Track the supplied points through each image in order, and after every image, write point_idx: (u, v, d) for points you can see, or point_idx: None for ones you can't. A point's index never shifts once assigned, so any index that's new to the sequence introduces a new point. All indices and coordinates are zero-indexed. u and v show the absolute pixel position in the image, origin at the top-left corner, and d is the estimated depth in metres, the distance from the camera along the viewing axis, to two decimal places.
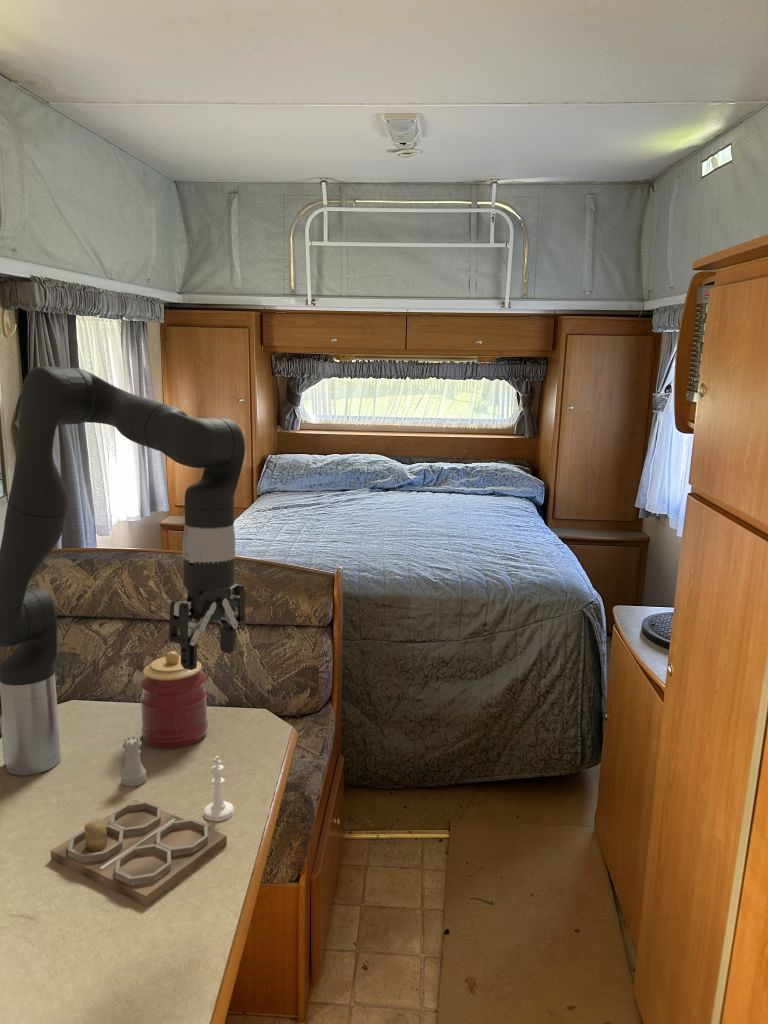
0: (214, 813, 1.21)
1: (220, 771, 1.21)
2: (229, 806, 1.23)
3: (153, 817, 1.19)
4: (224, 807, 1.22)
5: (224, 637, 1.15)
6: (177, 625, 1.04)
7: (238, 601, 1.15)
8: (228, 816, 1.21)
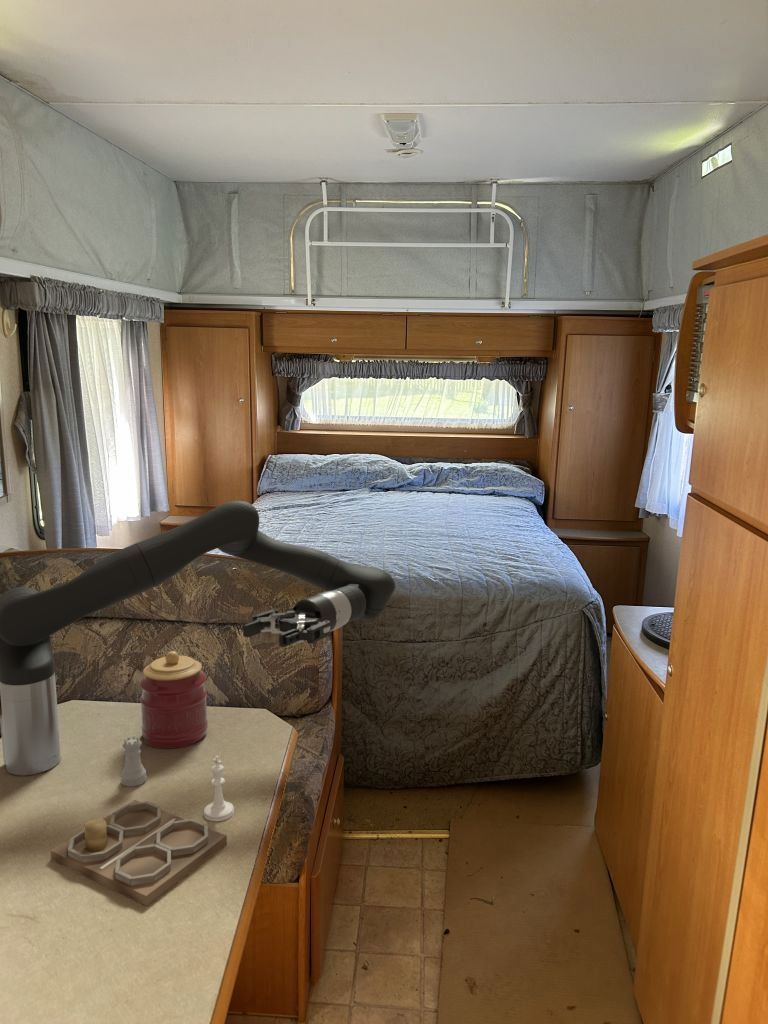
0: (214, 813, 1.21)
1: (220, 771, 1.21)
2: (229, 806, 1.23)
3: (153, 817, 1.19)
4: (224, 807, 1.22)
5: (255, 627, 1.31)
6: (320, 634, 1.29)
7: (269, 623, 1.37)
8: (228, 816, 1.21)
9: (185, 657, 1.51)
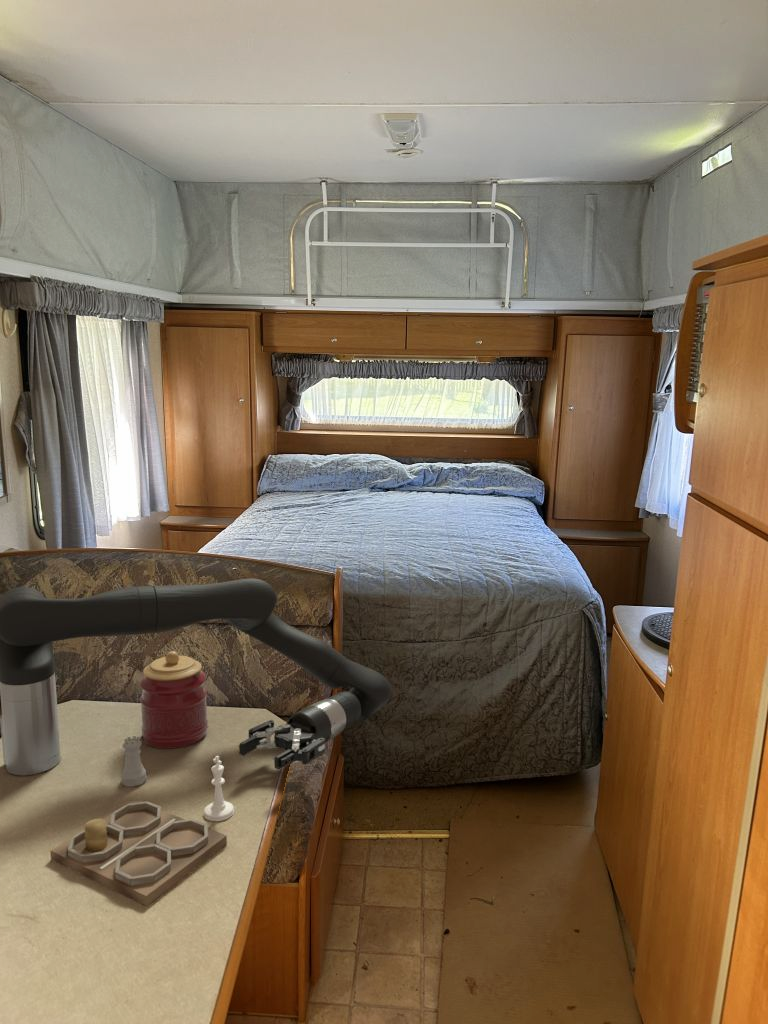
0: (214, 813, 1.21)
1: (220, 771, 1.21)
2: (229, 806, 1.23)
3: (153, 817, 1.19)
4: (224, 807, 1.22)
5: (251, 744, 1.34)
6: (315, 753, 1.31)
7: None
8: (228, 816, 1.21)
9: (185, 657, 1.51)
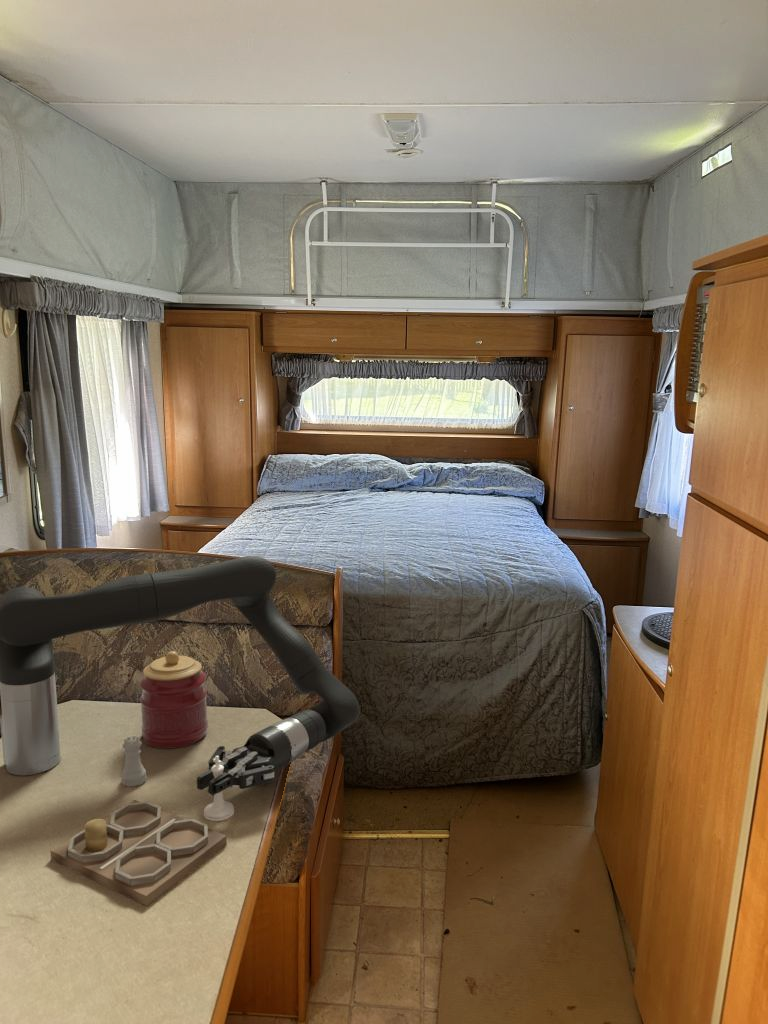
0: (214, 813, 1.21)
1: (220, 770, 1.21)
2: (229, 806, 1.23)
3: (153, 817, 1.19)
4: (224, 807, 1.22)
5: (210, 777, 1.22)
6: (256, 780, 1.22)
7: None
8: (228, 816, 1.21)
9: (185, 657, 1.51)
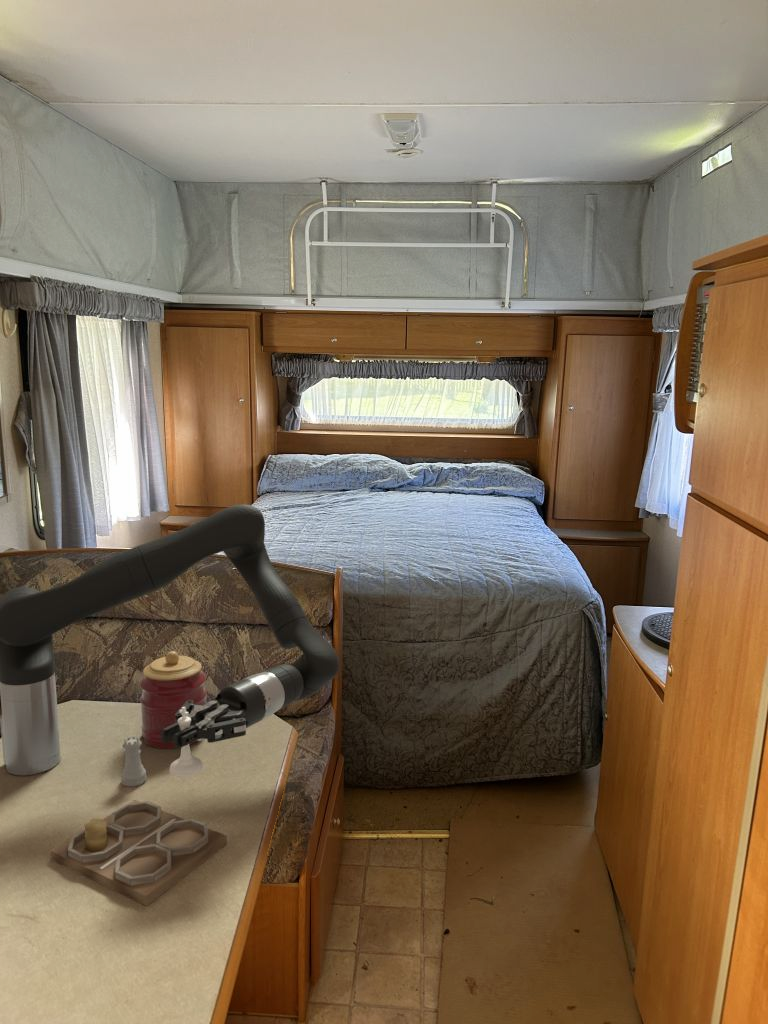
0: (181, 768, 1.12)
1: (186, 722, 1.12)
2: (198, 761, 1.14)
3: (153, 817, 1.19)
4: (192, 762, 1.13)
5: (176, 730, 1.13)
6: (226, 733, 1.13)
7: None
8: (196, 771, 1.12)
9: (185, 657, 1.51)
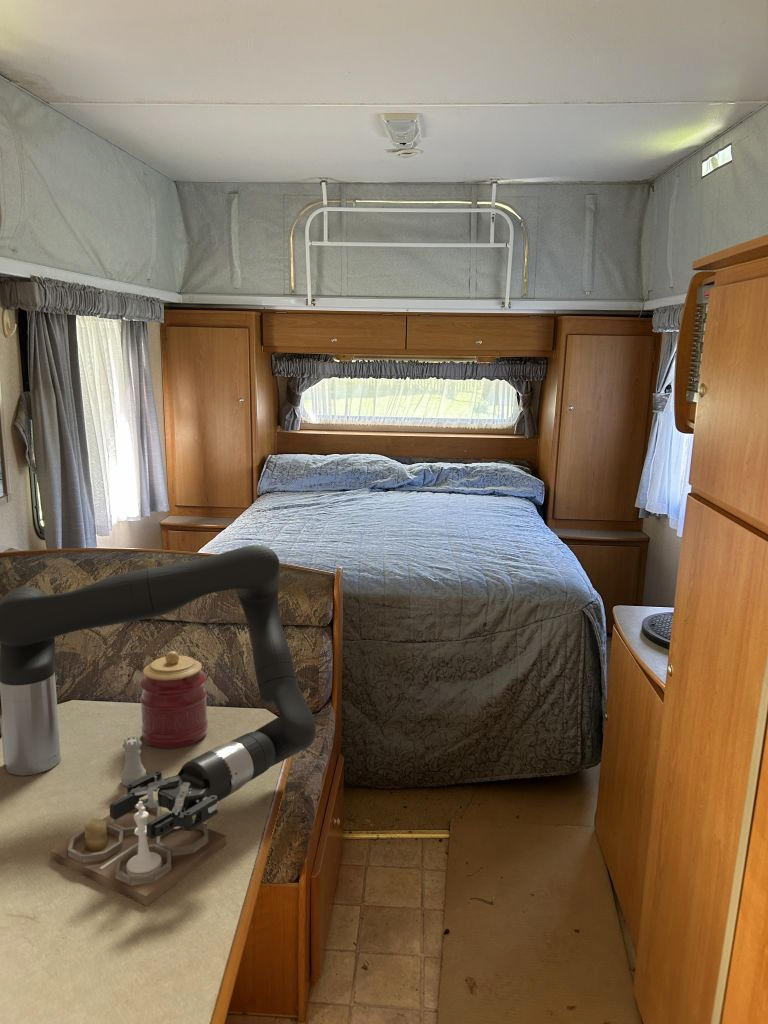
0: (137, 868, 1.04)
1: (143, 819, 1.04)
2: (156, 858, 1.07)
3: (153, 817, 1.19)
4: (150, 860, 1.06)
5: (126, 804, 1.07)
6: (203, 816, 1.05)
7: None
8: (154, 871, 1.05)
9: (185, 657, 1.51)
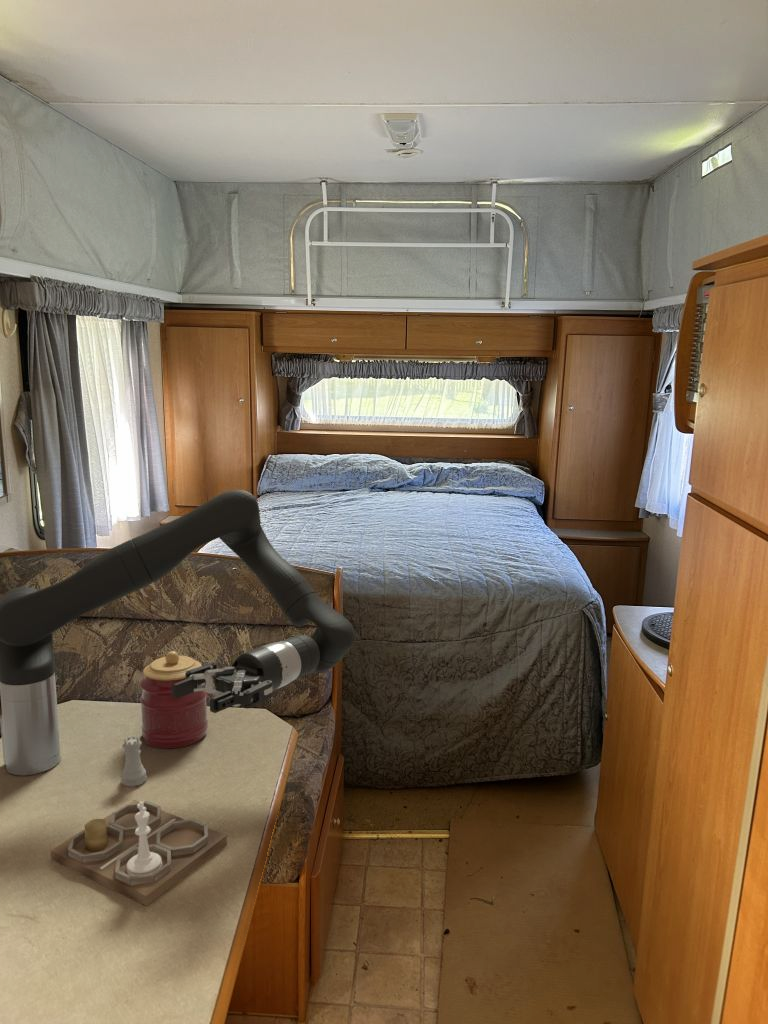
0: (137, 868, 1.04)
1: (144, 819, 1.04)
2: (157, 859, 1.07)
3: (153, 817, 1.19)
4: (150, 860, 1.06)
5: (186, 686, 1.15)
6: (260, 697, 1.13)
7: None
8: (153, 871, 1.05)
9: (185, 657, 1.51)
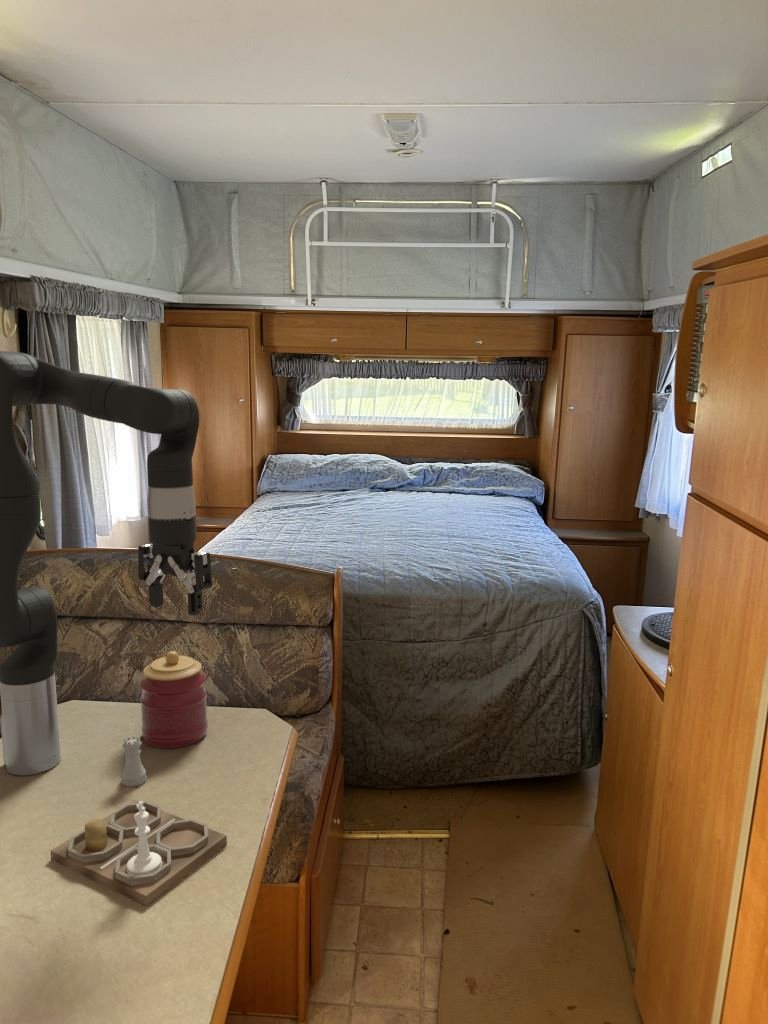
0: (137, 868, 1.04)
1: (143, 819, 1.04)
2: (156, 858, 1.06)
3: (153, 817, 1.19)
4: (150, 860, 1.06)
5: (156, 593, 1.24)
6: (207, 572, 1.18)
7: (153, 558, 1.25)
8: (153, 871, 1.05)
9: (185, 657, 1.51)
